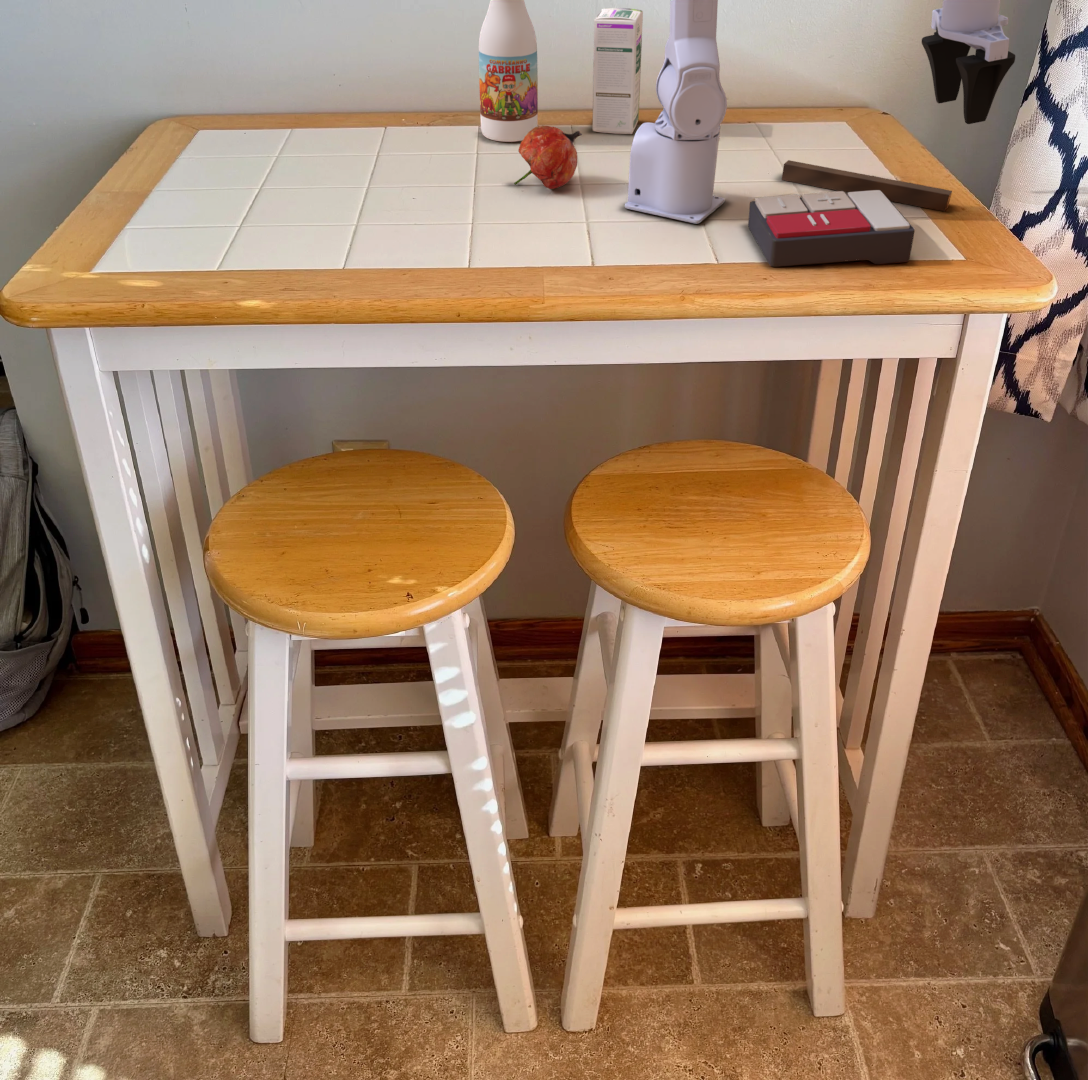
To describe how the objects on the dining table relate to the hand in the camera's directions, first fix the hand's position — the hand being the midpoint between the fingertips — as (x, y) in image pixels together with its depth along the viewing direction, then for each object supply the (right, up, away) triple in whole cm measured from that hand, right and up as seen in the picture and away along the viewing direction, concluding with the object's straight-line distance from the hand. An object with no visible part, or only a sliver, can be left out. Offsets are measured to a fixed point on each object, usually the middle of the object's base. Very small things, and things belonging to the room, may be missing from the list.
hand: (960, 111), depth 118 cm
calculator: (-16, -16, -3) cm, 23 cm away
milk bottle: (-52, +7, +25) cm, 58 cm away
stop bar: (-8, -6, +8) cm, 14 cm away
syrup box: (-37, +9, +27) cm, 47 cm away
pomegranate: (-47, -5, +10) cm, 48 cm away
